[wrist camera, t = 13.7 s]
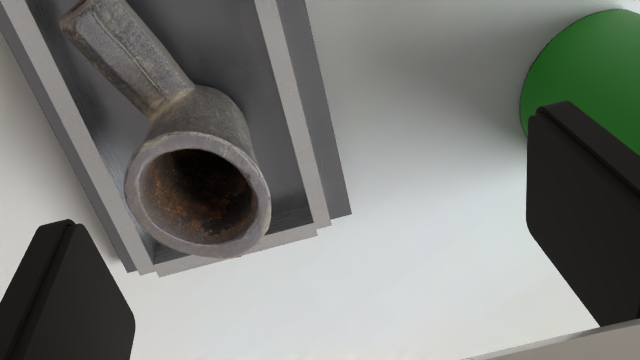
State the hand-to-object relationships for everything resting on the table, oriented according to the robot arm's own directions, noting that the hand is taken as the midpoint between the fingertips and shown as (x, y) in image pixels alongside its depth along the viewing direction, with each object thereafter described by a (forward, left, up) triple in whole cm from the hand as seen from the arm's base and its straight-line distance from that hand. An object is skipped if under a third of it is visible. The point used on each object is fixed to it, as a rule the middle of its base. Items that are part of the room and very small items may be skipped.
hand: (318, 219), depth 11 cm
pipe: (+3, -6, -20) cm, 21 cm away
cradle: (+5, -5, -21) cm, 22 cm away
